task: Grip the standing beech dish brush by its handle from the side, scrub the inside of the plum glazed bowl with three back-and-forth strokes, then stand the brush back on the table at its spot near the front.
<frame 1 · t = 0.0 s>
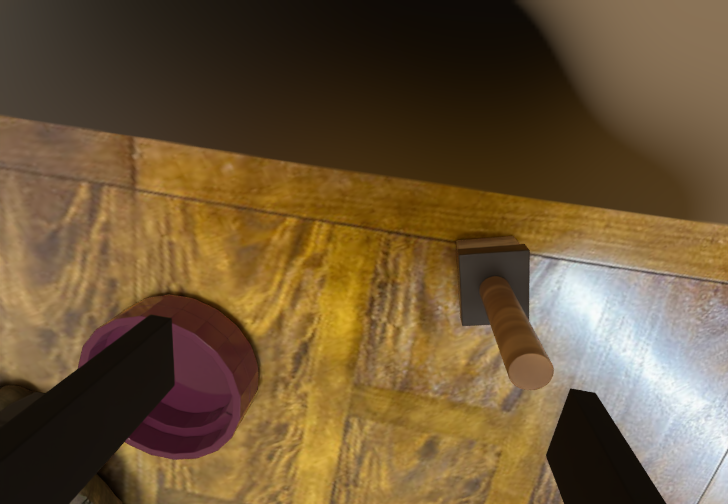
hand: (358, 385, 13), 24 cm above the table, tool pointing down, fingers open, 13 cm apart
bowl: (188, 360, 44), on the table
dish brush: (485, 269, 37), on the table
basket: (49, 466, 53), on the table
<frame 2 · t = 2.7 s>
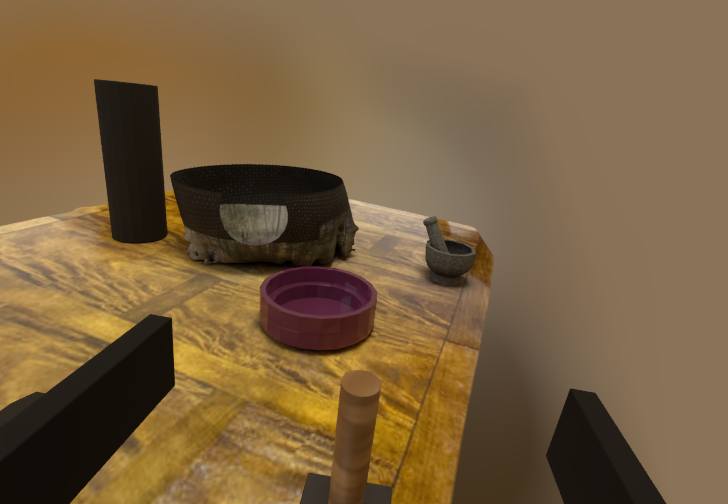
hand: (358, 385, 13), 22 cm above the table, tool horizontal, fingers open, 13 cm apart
mortar and pestle: (441, 278, 81), on the table
bowl: (317, 322, 60), on the table
vase: (140, 236, 85), on the table
basket: (268, 253, 84), on the table
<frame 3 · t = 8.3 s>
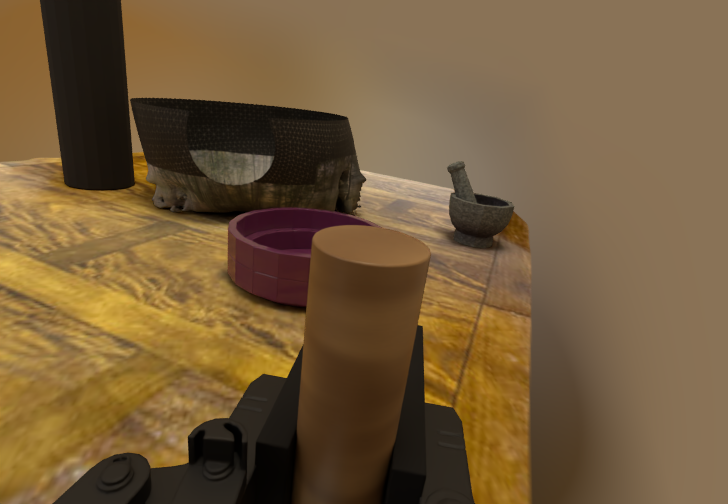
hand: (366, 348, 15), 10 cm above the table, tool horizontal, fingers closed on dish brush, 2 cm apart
mortar and pestle: (467, 241, 65), on the table
bowl: (307, 276, 44), on the table
vase: (101, 184, 70), on the table
basket: (255, 207, 68), on the table
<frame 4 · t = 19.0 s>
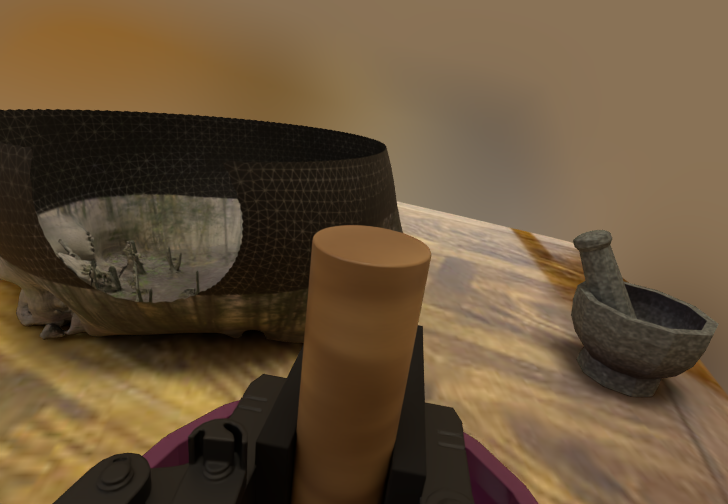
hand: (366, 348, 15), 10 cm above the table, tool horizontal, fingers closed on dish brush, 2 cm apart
mortar and pestle: (605, 371, 35), on the table
basket: (221, 300, 39), on the table
when the fingers open (9 cm above the table, at t = 29.7 s): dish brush stays where it is, on the table.
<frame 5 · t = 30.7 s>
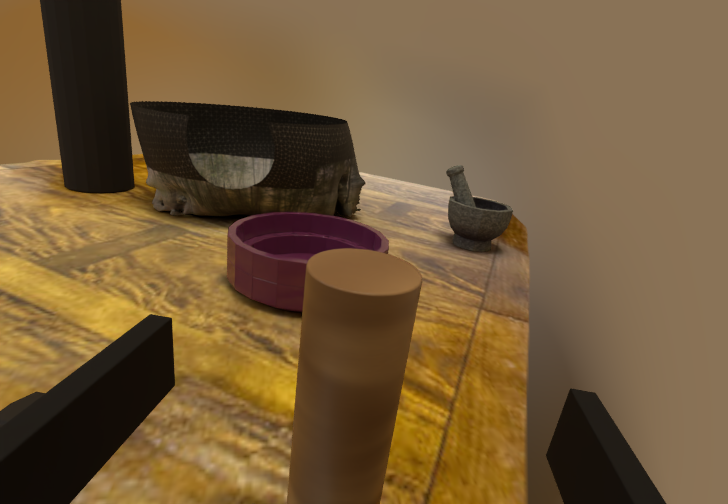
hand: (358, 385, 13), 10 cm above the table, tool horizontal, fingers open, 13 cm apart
mortar and pestle: (466, 244, 65), on the table
bowl: (307, 280, 44), on the table
vase: (101, 187, 70), on the table
basket: (255, 210, 68), on the table
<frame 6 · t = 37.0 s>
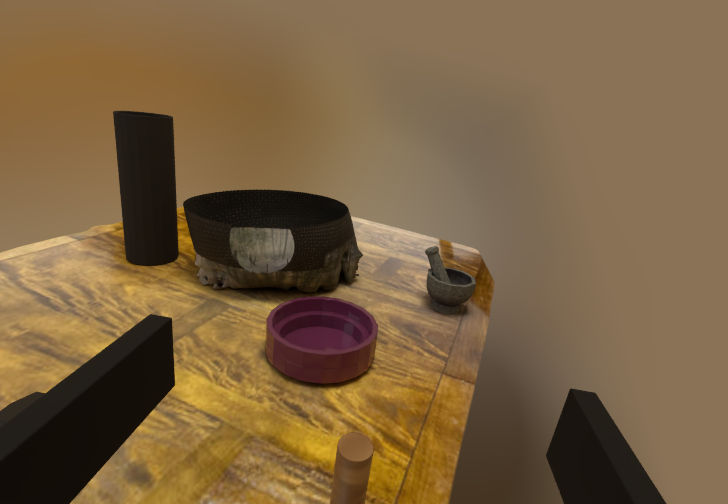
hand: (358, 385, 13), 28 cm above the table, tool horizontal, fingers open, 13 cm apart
mortar and pestle: (441, 306, 83), on the table
bowl: (320, 352, 62), on the table
vase: (152, 257, 89), on the table
basket: (275, 277, 87), on the table
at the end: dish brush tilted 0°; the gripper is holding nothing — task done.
